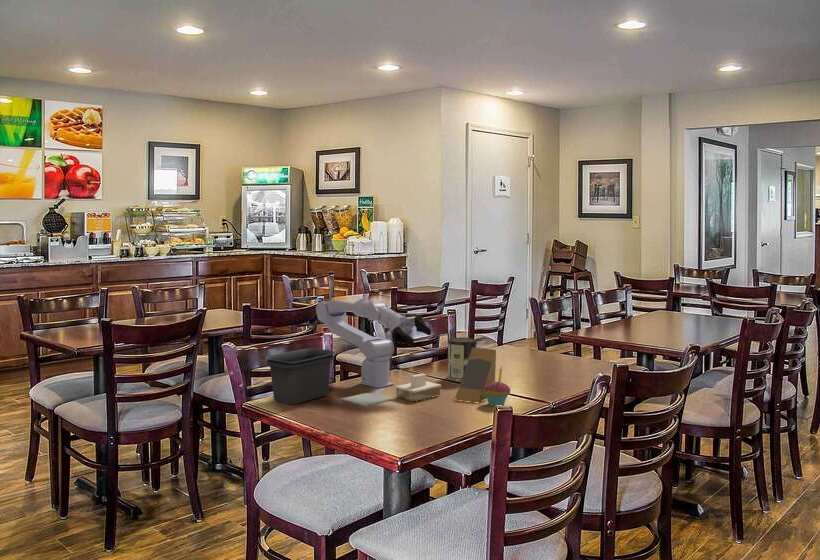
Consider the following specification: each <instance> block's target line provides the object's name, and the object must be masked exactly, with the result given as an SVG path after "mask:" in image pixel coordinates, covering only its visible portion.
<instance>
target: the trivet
mask: <svg viewBox="0 0 820 560" xmlns="http://www.w3.org/2000/svg"><path fill="white" fill-rule="evenodd" d="M391 399H392V398H389V397H386V396H385V397H384V396H382V395H377V394H373V393H369V392H365V393H360V394H355V395H352V396H347V397H343V398H341V401H344V402H347V403H351V404H354V405H357V404H358V405H357V406H361V407H368V406H373V405H377V404H382V403H385V401H386V402H389V400H390V401H392V400H391ZM381 402H382V403H381Z"/></svg>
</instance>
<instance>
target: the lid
mask: <svg viewBox="0 0 820 560" xmlns="http://www.w3.org/2000/svg"><path fill="white" fill-rule="evenodd" d="M437 387H440V388H441V387H442V384H440V383H435V382H432V381H427V374H424V373H418V374H413V375H410V382H409V383H405V384H400V385H397V386H394V388H395V389H396V390H397V389H400V390H405V391H409V392H413V393H416V392H420V391H425V390H429V389H433V388H437Z"/></svg>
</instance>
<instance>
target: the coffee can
mask: <svg viewBox="0 0 820 560" xmlns="http://www.w3.org/2000/svg"><path fill="white" fill-rule="evenodd" d="M477 342H478V341H477V339H475V338H471V337H451V338H448V339H447V343H448V344H447V345H448V347H447V351H448V352H447V379H448V380H450V381H454V380H455V381H454V382H456V381H457V382H461V380H462V377H463V374H464V371H465V369H466V366H467V363H468V360H469V356H470V353H471V350H472V348H473V347H475V348H477Z"/></svg>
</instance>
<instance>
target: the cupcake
mask: <svg viewBox="0 0 820 560" xmlns="http://www.w3.org/2000/svg"><path fill="white" fill-rule="evenodd" d="M502 372H503V366H502V365H500V368H499V373H498V381H495V382H491V383H489V384H487V385H486V386H484V388H483V394H485V395H486V397H487V399H486V400H487V403H488V405H489V404H490V405H493V406H492V407H496V406H495V405H503V406H505V403H506V400H507V397H508V396H509V395H510V394H511V388H510V387H509V385H508V384H506V383H504V382H503V381H501V380H502ZM490 405H489V406H490Z"/></svg>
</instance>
